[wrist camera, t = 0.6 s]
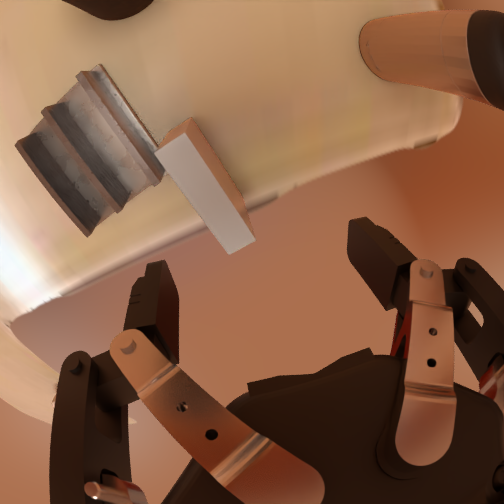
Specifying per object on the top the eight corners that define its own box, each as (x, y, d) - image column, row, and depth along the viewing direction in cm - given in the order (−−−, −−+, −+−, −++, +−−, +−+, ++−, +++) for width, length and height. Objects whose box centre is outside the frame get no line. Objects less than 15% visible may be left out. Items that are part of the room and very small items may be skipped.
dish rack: (101, 64, 21) (84, 63, 17) (173, 167, 30) (168, 182, 26) (30, 135, 23) (9, 146, 19) (98, 222, 33) (86, 243, 29)
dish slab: (191, 117, 27) (185, 132, 19) (242, 197, 34) (256, 240, 26) (169, 131, 28) (153, 153, 20) (222, 208, 35) (228, 255, 27)
